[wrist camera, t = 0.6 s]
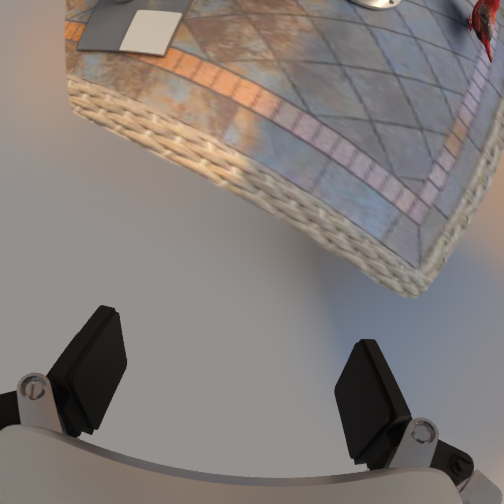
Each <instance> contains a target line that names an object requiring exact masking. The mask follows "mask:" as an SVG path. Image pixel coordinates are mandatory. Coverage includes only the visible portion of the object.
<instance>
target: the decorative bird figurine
mask: <svg viewBox="0 0 504 504" xmlns="http://www.w3.org/2000/svg"><path fill="white" fill-rule="evenodd" d="M499 3H500V0H479V1H478V2H477V3H476V5H475V6H474V9H473V12H472V23H471V19H470V14H469V19H468V23H469V29H471V30H472V28H473V29H474V30H475V33H476V35H477V37H478V39H479V40H480V41H481V42H482V43H483V44H484V46H485V49H486V51H487V54H488V57H489V60H490V62H491V63H492V57H491V51H490V40H491V37H492V34H493V30H494V24H495V16H496V12H497V9H498V7H499ZM471 27H472V28H471ZM471 30H470V32H471Z"/></svg>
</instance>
